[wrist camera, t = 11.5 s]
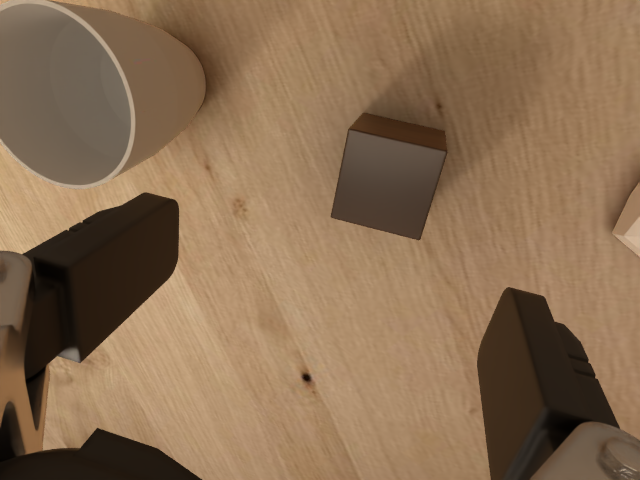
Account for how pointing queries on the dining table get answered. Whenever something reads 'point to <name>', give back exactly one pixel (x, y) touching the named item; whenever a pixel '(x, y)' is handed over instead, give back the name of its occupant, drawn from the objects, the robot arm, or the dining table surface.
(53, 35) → the cup
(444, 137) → the walnut block
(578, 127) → the dining table surface
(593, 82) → the dining table surface
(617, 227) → the crystal
